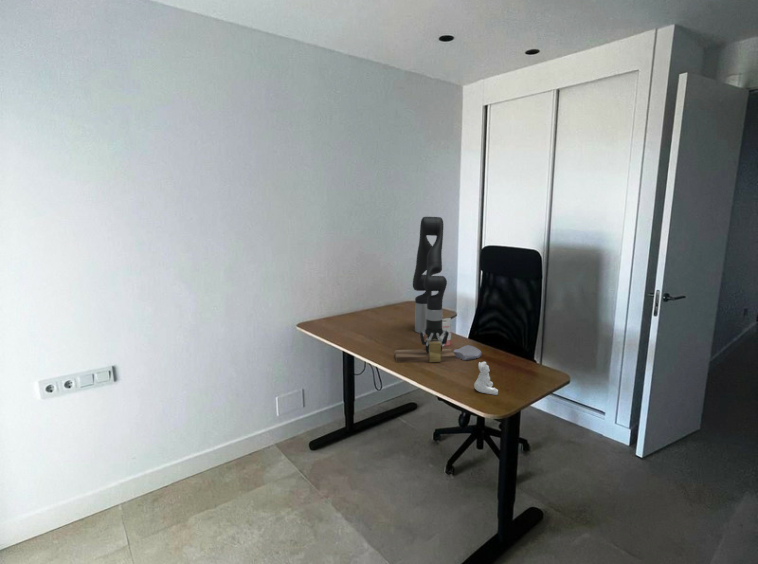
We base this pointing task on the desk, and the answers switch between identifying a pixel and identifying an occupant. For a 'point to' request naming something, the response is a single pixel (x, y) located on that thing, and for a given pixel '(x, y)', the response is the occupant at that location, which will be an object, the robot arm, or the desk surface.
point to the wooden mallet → (434, 350)
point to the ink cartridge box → (446, 327)
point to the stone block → (467, 352)
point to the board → (422, 355)
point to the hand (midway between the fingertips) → (433, 352)
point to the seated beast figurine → (484, 380)
